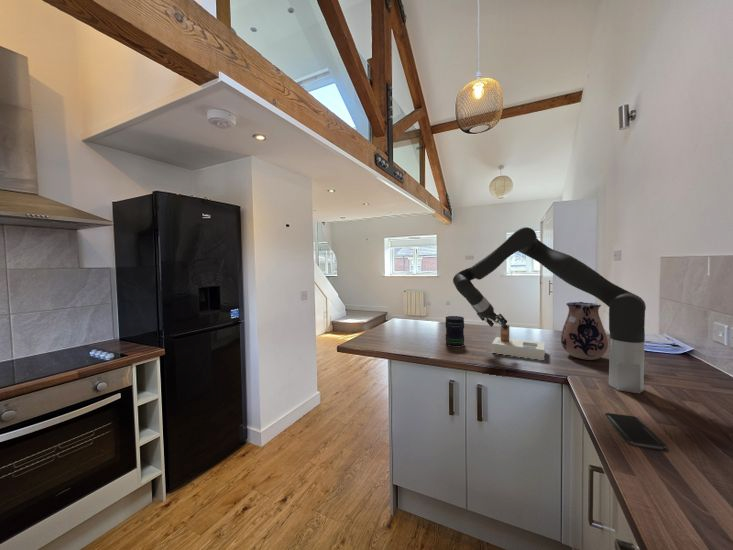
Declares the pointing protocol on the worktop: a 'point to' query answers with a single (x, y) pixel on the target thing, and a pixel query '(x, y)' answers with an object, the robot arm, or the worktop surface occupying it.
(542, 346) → the socket block
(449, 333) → the storage jar
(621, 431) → the phone
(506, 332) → the peg
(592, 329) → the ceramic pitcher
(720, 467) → the worktop surface
